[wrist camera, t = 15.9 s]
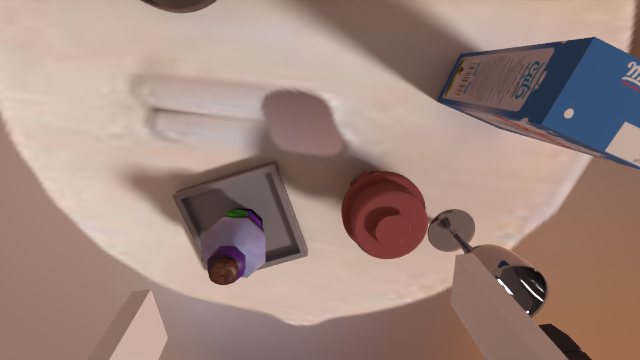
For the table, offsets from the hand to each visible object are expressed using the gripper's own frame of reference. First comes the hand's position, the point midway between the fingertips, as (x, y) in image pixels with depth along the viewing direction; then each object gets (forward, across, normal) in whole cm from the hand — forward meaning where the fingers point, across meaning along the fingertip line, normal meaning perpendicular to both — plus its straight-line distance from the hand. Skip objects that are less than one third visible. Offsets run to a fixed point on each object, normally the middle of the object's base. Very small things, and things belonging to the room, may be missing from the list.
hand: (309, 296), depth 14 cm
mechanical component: (+30, +10, -9) cm, 33 cm away
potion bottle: (+30, -9, -13) cm, 34 cm away
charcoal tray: (+30, -9, -13) cm, 34 cm away
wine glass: (+29, +22, -17) cm, 40 cm away
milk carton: (+30, +24, +3) cm, 39 cm away
